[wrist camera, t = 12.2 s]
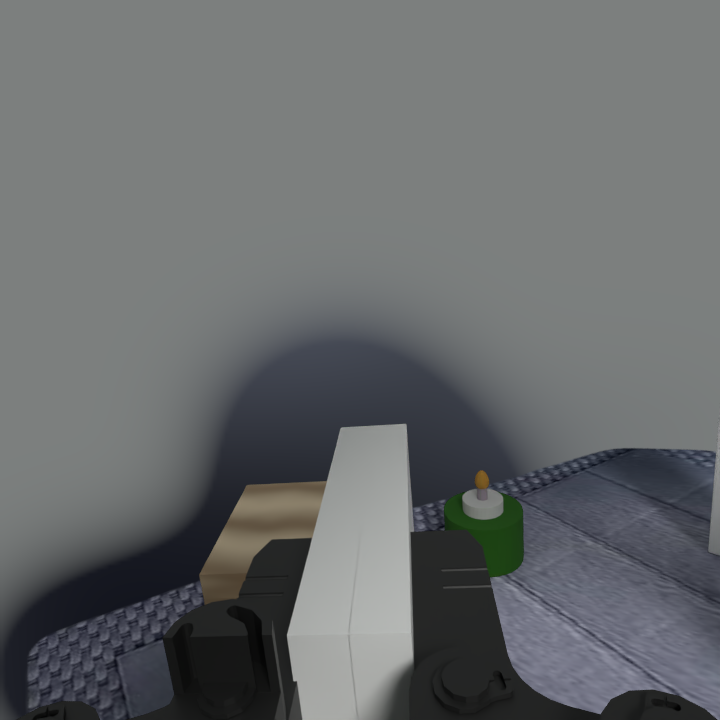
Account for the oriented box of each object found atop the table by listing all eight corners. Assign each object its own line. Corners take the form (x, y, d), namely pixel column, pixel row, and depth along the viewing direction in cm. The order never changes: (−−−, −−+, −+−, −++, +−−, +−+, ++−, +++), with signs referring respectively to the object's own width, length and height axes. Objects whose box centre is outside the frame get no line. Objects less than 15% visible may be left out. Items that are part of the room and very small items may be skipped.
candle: (457, 527, 69) (454, 450, 66) (529, 539, 65) (528, 458, 63) (436, 568, 62) (431, 483, 59) (515, 584, 58) (514, 494, 55)
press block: (247, 588, 61) (229, 481, 58) (399, 583, 60) (390, 473, 56) (171, 781, 41) (138, 633, 38) (398, 781, 39) (384, 627, 36)
